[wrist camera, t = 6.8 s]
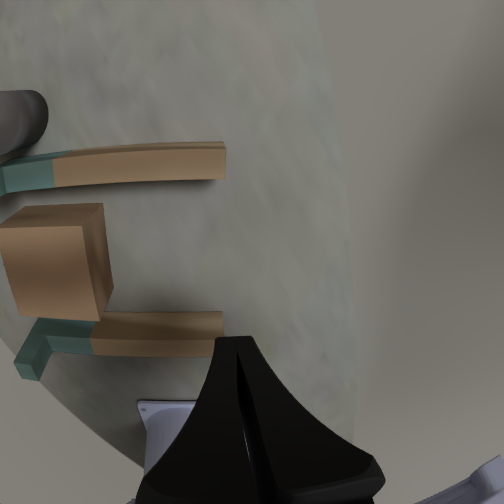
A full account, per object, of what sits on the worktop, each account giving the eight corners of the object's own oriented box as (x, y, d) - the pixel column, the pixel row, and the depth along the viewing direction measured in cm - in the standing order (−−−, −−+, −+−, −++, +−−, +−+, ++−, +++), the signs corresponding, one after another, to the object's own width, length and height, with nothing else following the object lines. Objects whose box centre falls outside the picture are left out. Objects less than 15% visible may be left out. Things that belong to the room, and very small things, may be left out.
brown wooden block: (114, 285, 21) (99, 321, 17) (42, 283, 20) (20, 315, 16) (103, 201, 18) (81, 226, 14) (26, 205, 17) (-5, 228, 14)
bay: (222, 327, 23) (228, 390, 18) (46, 324, 21) (18, 377, 16) (226, 68, 15) (234, 50, 10) (4, 96, 14) (-56, 103, 8)
